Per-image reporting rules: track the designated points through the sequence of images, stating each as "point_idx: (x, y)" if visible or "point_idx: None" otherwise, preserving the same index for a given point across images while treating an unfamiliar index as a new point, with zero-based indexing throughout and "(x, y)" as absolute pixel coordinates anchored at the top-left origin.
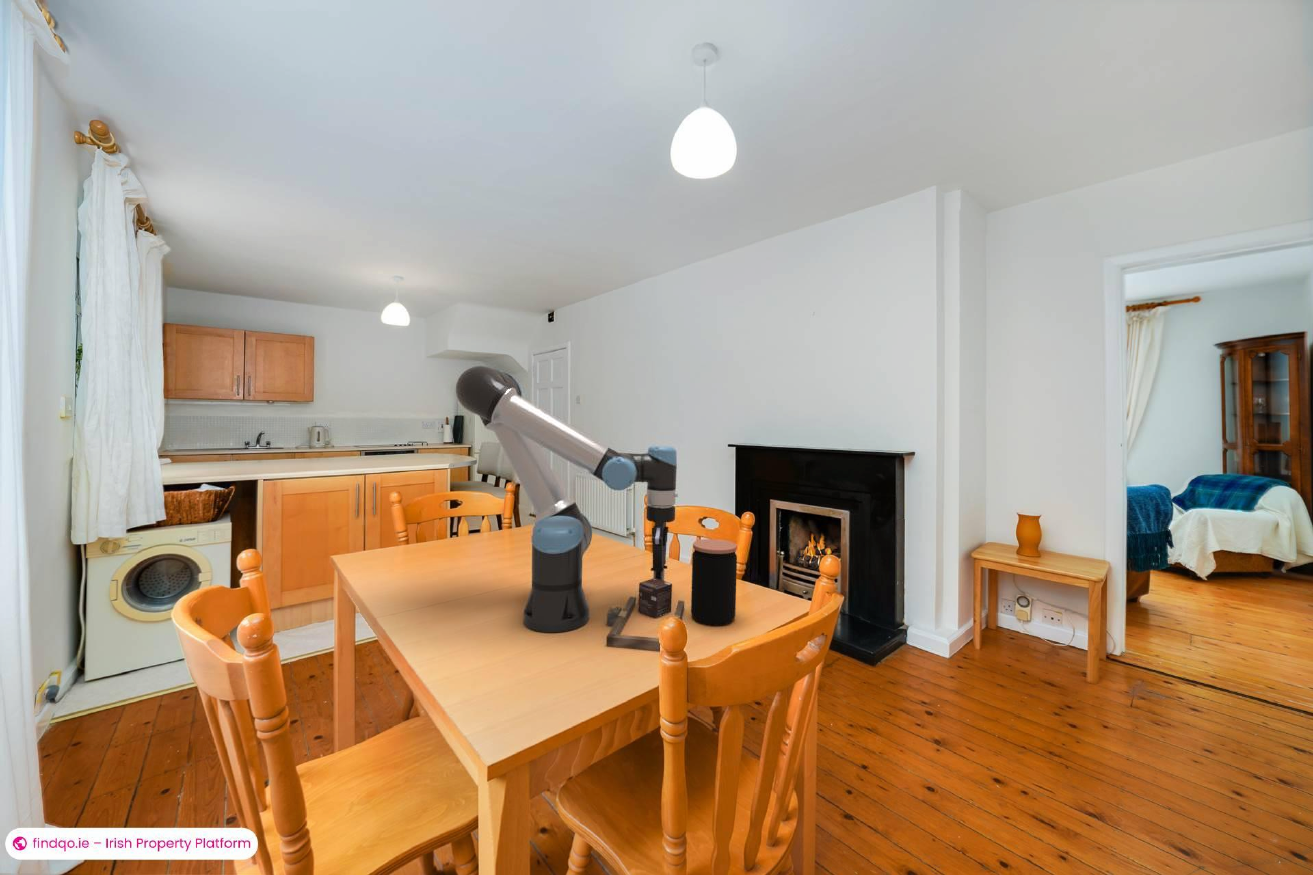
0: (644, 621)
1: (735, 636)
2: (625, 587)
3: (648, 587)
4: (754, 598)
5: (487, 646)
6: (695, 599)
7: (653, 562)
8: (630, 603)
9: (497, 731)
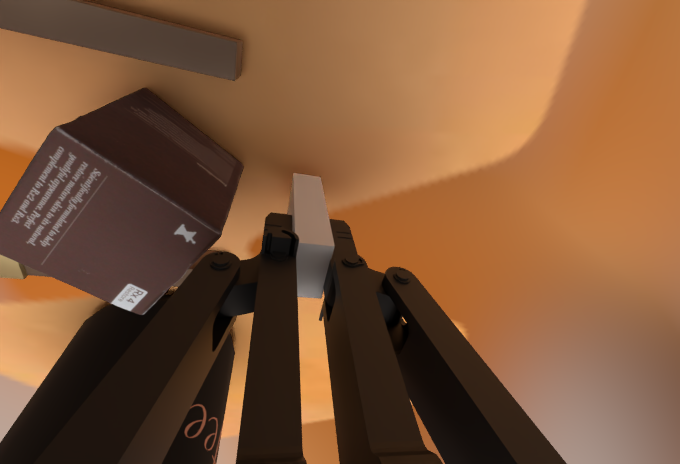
0: (27, 116)
1: (39, 376)
2: (507, 16)
3: (12, 193)
4: (331, 409)
5: None
6: (64, 365)
7: (167, 306)
8: (119, 41)
9: None
